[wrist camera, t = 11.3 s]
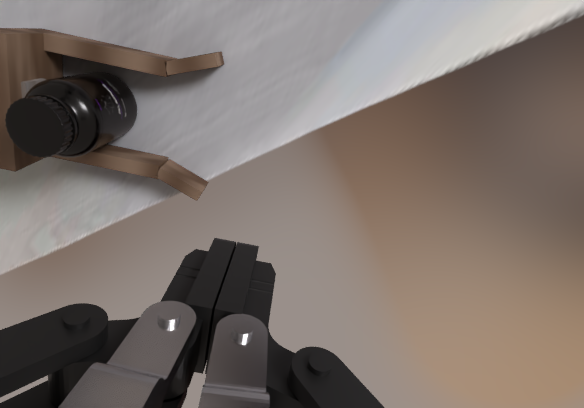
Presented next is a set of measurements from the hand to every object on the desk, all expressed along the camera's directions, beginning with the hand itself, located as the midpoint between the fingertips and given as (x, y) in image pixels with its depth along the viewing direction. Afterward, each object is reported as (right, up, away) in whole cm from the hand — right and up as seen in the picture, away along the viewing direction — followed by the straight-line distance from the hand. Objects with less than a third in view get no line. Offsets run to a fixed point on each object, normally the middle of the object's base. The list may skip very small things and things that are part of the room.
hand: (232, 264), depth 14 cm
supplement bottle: (-18, +13, +29) cm, 36 cm away
